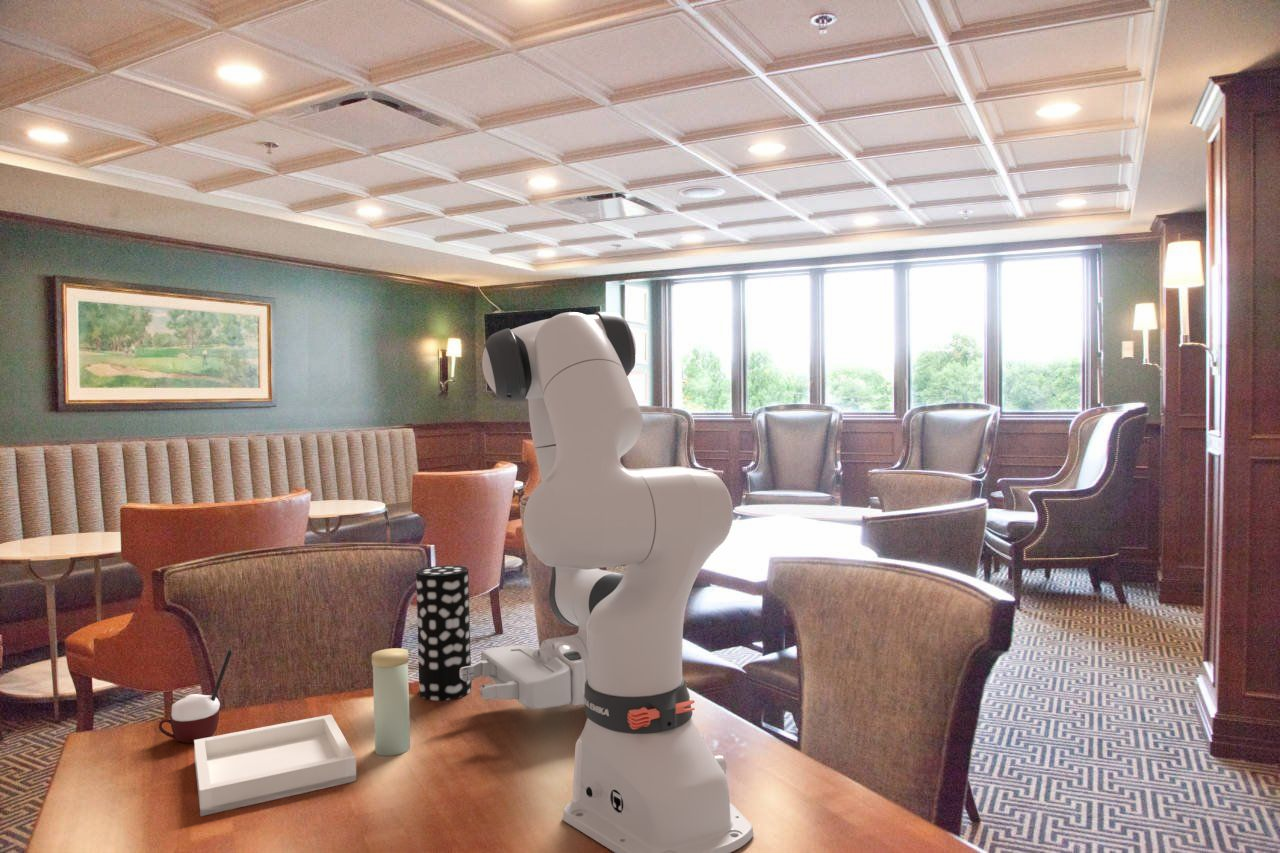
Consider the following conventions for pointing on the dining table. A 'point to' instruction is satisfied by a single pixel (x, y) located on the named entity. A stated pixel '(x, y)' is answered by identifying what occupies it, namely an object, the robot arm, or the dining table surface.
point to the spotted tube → (443, 631)
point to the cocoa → (196, 714)
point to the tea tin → (391, 701)
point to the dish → (271, 763)
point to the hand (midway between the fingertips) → (471, 683)
